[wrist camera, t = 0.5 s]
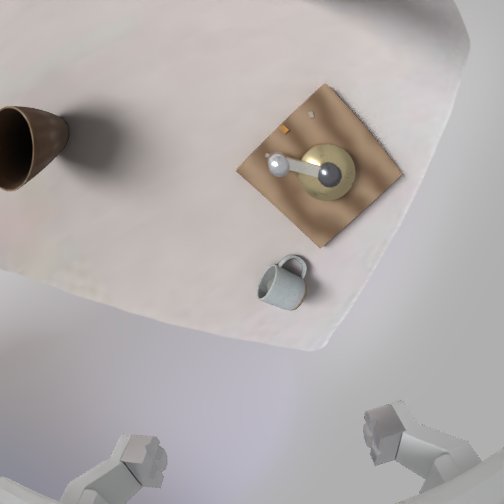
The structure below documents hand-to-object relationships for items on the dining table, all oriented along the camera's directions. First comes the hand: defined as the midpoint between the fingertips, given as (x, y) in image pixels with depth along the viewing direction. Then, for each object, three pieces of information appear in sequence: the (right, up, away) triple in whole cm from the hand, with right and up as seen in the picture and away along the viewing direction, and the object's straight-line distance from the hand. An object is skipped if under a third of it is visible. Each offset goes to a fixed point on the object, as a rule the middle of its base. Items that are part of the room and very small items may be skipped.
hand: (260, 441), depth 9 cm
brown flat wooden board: (+12, +22, +42) cm, 49 cm away
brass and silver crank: (+10, +22, +39) cm, 46 cm away
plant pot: (-41, +32, +37) cm, 64 cm away
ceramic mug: (+6, +3, +53) cm, 53 cm away
